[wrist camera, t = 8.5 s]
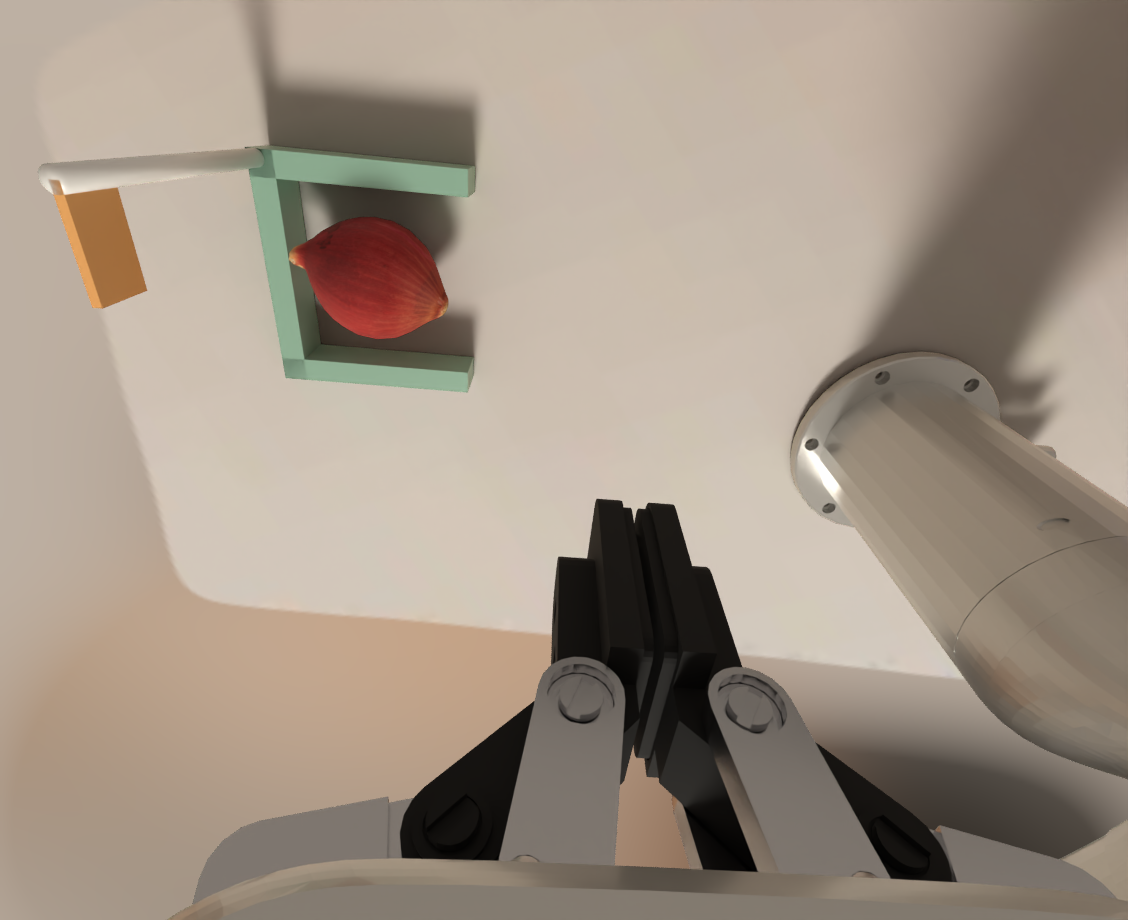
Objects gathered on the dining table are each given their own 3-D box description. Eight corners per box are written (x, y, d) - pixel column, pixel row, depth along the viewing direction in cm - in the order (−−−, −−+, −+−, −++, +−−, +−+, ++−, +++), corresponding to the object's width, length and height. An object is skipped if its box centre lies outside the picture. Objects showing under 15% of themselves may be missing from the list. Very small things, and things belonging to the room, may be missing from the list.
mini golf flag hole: (474, 165, 28) (408, 198, 16) (473, 375, 34) (423, 519, 22) (268, 145, 28) (33, 161, 15) (303, 361, 34) (152, 501, 21)
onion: (468, 259, 31) (324, 203, 30) (462, 240, 26) (284, 171, 24) (437, 358, 32) (295, 309, 31) (424, 360, 27) (251, 301, 25)
